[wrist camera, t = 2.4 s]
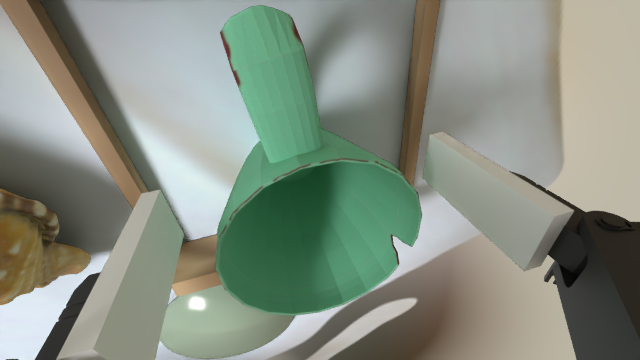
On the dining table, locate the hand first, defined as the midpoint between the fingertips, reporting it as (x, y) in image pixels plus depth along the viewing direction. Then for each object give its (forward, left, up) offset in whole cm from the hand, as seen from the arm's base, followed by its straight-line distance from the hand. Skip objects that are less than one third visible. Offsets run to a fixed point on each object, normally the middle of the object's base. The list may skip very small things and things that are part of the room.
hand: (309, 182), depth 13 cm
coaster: (-9, -21, -7) cm, 24 cm away
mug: (0, 0, -8) cm, 8 cm away
